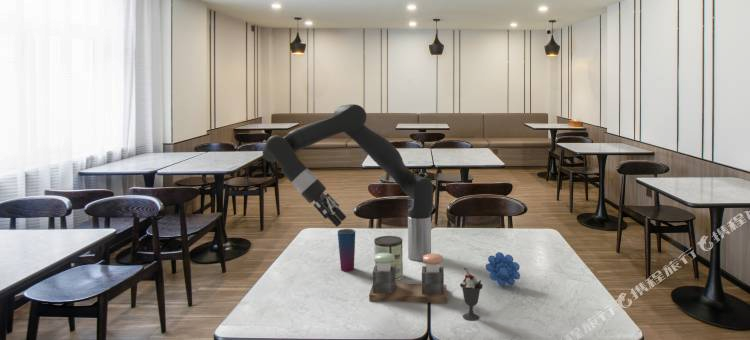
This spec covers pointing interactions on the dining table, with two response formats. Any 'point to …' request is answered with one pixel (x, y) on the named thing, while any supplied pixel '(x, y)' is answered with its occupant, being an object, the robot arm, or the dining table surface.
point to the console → (408, 287)
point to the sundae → (471, 295)
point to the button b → (432, 262)
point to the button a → (384, 261)
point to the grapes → (503, 269)
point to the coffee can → (391, 251)
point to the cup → (346, 248)
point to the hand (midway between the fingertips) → (341, 221)
